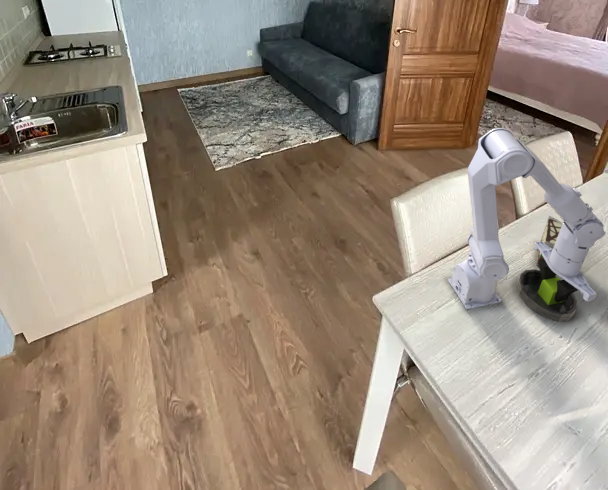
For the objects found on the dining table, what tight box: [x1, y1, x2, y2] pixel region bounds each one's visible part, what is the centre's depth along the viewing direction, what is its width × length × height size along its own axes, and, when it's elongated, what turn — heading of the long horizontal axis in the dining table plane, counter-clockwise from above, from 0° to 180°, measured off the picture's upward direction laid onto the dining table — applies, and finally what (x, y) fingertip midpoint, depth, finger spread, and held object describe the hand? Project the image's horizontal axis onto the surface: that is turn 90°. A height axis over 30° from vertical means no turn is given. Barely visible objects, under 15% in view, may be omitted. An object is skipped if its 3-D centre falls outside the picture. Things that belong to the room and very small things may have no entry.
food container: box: [535, 215, 563, 268], centre depth 93 cm, size 12×6×10 cm, turn 143°
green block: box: [538, 276, 565, 305], centre depth 83 cm, size 4×3×4 cm
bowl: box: [516, 268, 578, 323], centre depth 84 cm, size 12×12×3 cm
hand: (552, 293), depth 84 cm, fingers closed on green block, 3 cm apart
